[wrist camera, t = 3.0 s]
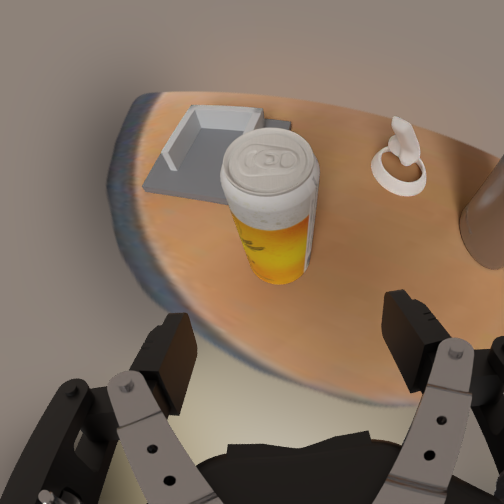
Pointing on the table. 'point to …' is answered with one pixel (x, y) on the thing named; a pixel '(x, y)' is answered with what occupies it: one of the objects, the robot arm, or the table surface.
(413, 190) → the hook
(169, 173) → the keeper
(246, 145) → the beer can
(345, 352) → the table surface
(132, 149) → the table surface
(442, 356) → the robot arm
